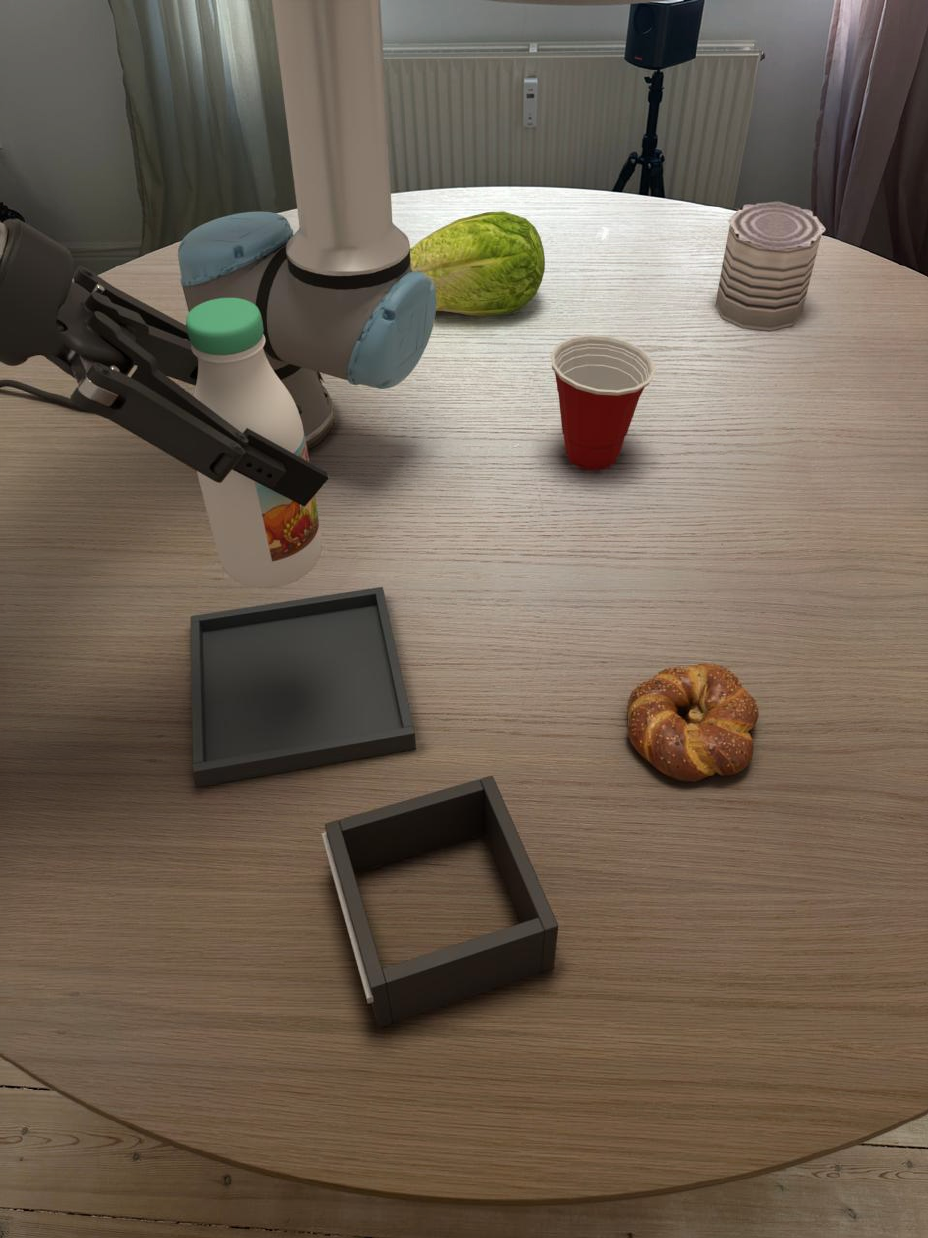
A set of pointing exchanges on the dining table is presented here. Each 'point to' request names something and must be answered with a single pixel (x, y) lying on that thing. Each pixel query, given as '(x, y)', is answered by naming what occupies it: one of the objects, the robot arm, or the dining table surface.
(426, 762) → the dining table surface
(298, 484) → the robot arm
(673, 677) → the pretzel
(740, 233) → the can
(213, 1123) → the dining table surface
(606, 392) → the plastic cup
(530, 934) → the collar base
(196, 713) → the tray
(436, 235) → the lettuce
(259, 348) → the milk bottle
